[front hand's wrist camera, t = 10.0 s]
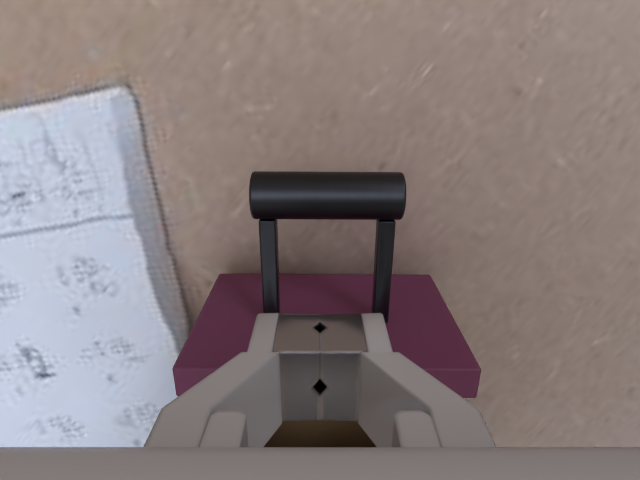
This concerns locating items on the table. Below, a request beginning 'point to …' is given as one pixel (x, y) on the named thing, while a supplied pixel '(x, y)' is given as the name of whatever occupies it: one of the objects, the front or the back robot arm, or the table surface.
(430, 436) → the front robot arm
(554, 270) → the table surface
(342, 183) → the drawer
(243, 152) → the table surface
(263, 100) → the table surface
